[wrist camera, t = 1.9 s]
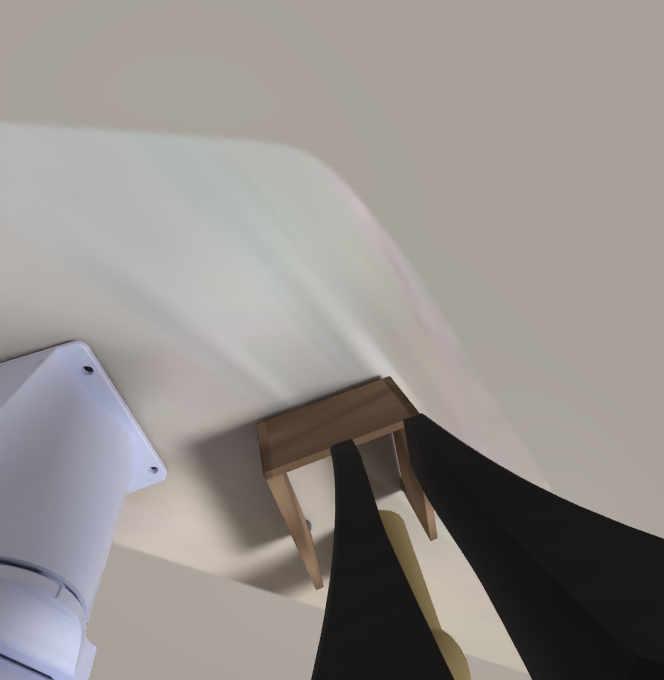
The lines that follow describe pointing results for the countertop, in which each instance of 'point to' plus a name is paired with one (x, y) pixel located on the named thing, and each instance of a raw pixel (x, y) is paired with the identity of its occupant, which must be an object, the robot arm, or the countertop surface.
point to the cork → (423, 593)
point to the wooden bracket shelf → (314, 444)
